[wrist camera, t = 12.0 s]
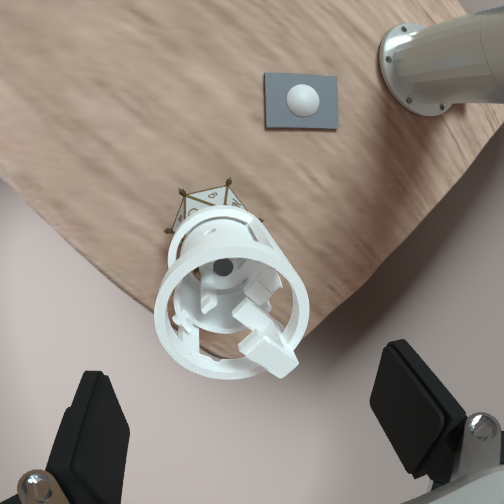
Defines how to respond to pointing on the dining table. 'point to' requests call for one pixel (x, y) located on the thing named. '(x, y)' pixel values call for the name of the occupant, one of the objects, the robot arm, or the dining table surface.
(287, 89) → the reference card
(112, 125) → the dining table surface
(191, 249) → the white cylindrical housing
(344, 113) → the dining table surface
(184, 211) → the game die
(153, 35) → the dining table surface
